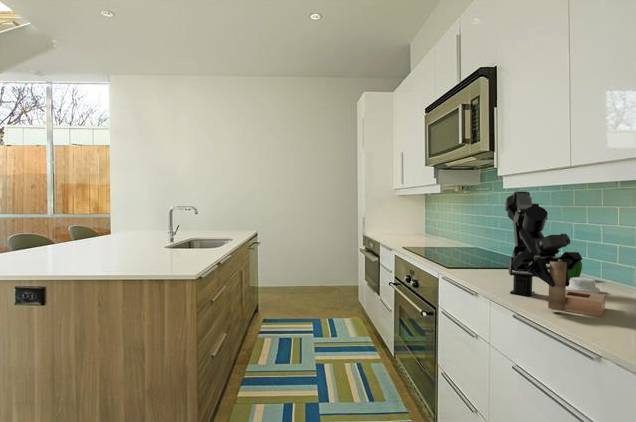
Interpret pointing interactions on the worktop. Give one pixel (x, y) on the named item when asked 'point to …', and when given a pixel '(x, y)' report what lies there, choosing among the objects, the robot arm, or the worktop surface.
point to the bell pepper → (575, 271)
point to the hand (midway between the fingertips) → (560, 285)
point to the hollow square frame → (584, 302)
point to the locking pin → (557, 285)
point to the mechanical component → (583, 285)
